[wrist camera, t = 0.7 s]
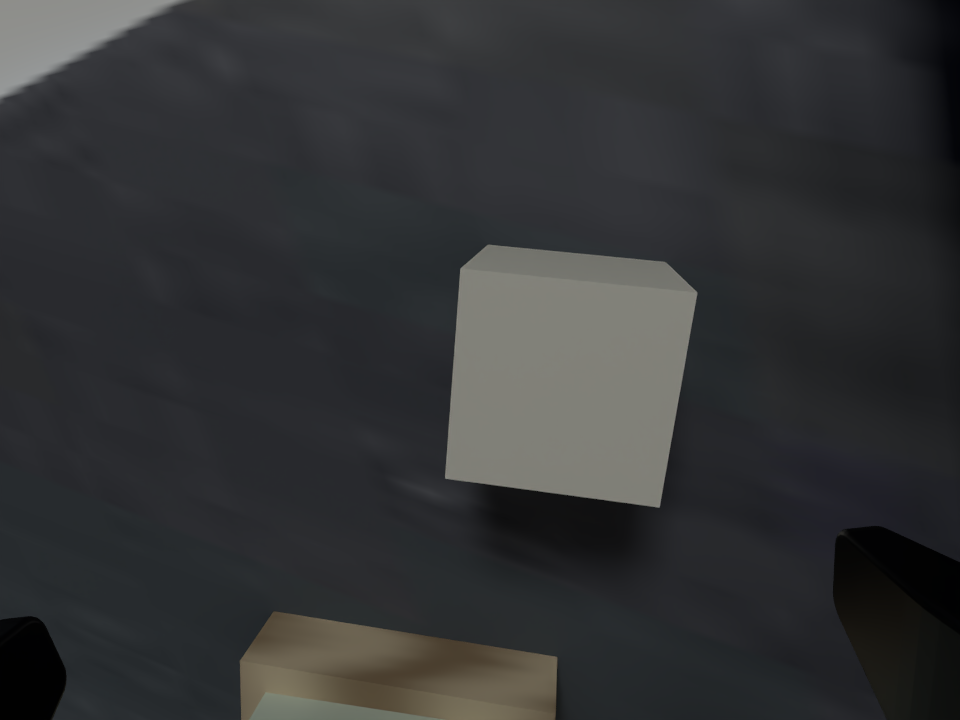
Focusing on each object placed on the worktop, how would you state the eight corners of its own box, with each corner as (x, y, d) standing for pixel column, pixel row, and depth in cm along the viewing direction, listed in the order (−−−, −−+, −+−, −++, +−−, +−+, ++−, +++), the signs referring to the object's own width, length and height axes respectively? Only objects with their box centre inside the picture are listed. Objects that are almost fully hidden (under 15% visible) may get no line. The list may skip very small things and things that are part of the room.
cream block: (665, 261, 19) (697, 292, 14) (638, 427, 20) (659, 507, 15) (488, 244, 19) (460, 268, 14) (474, 407, 21) (445, 478, 16)
